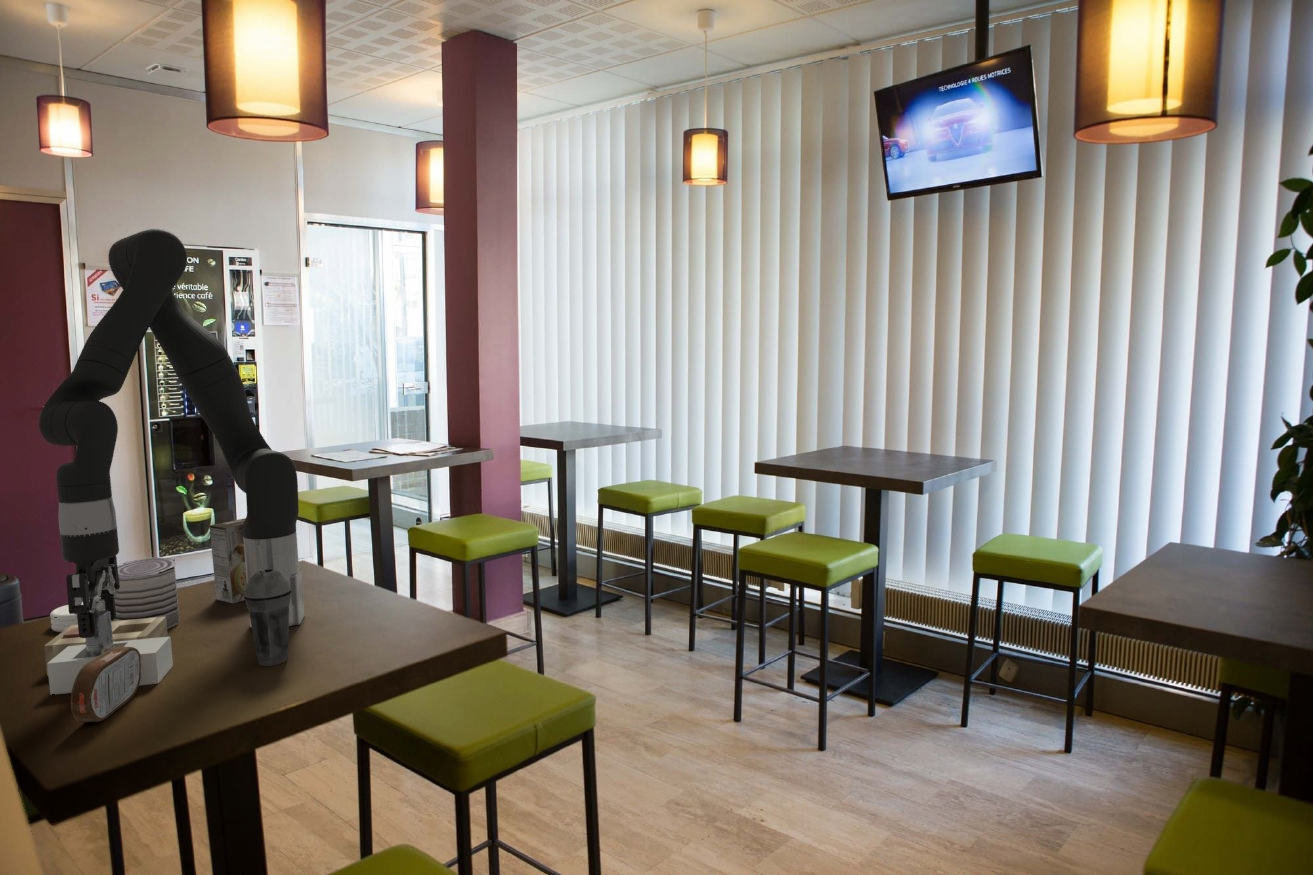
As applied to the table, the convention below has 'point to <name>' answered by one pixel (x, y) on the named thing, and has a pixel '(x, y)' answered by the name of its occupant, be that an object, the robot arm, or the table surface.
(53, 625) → the white round container
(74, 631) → the key
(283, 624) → the beverage cup
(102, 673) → the tin
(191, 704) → the table surface
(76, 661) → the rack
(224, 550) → the coffee box
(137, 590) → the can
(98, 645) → the stepped metal cylinder
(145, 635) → the socket block
